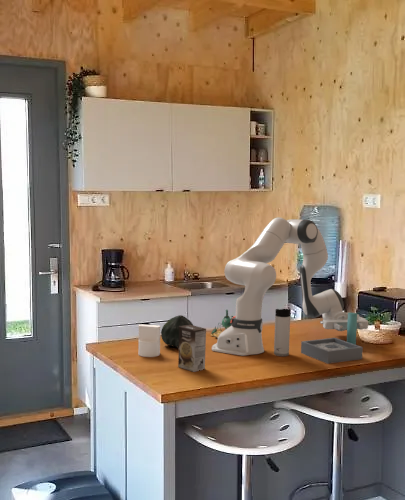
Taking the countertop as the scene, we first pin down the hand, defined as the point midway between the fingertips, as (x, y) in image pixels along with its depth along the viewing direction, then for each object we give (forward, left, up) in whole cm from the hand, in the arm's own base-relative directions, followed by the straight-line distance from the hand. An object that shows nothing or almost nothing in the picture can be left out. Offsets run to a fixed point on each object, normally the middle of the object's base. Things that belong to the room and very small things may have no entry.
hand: (351, 327), depth 280 cm
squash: (-72, -25, -10) cm, 76 cm away
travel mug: (-27, -22, -10) cm, 36 cm away
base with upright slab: (-79, -42, -10) cm, 89 cm away
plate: (-7, -16, -9) cm, 19 cm away
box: (-7, -16, -9) cm, 19 cm away
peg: (0, -1, -9) cm, 9 cm away
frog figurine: (-57, -3, -10) cm, 57 cm away
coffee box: (-56, -55, -10) cm, 79 cm away
